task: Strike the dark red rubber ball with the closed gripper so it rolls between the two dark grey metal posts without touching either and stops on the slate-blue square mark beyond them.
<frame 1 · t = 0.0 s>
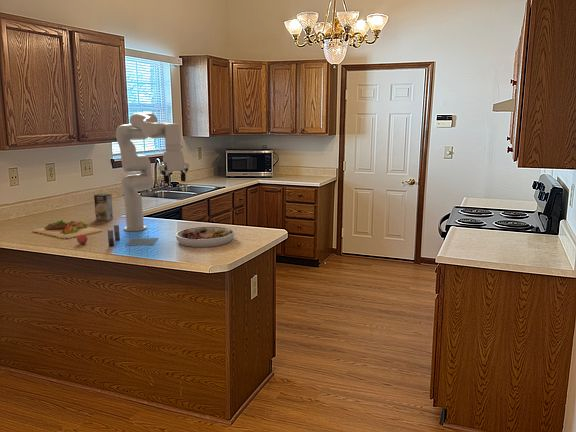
hand: (175, 182, 251), 31 cm above the worktop, tool pointing down, fingers open, 9 cm apart
post 2: (117, 240, 263), on the worktop
bowl: (205, 242, 259), on the worktop
coffee box: (104, 219, 318), on the worktop
ball: (82, 239, 255), on the worktop
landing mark: (142, 242, 258), on the worktop
post 1: (111, 245, 251), on the worktop
wooden food tray: (67, 233, 284), on the worktop
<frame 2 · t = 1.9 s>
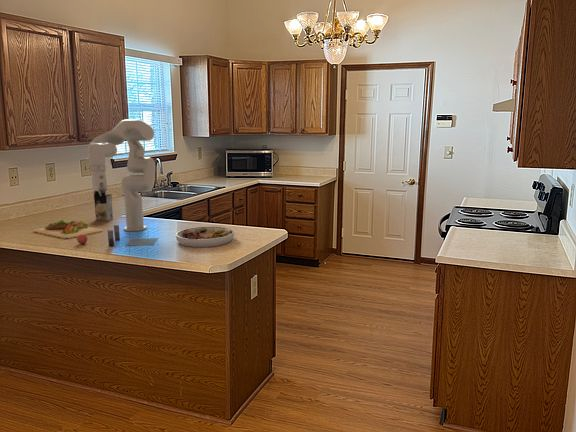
hand: (100, 202, 251), 22 cm above the worktop, tool pointing down, fingers open, 9 cm apart
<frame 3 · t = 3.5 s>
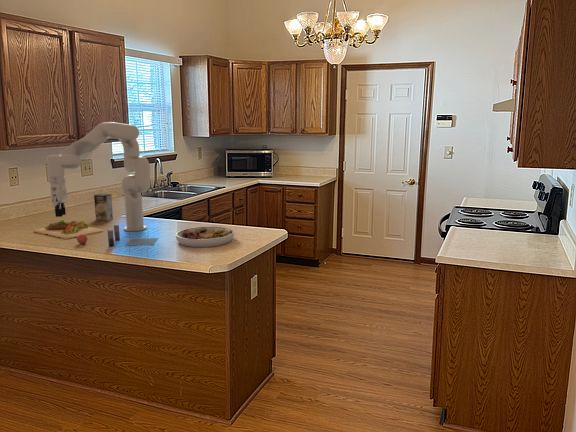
hand: (60, 215, 252), 15 cm above the worktop, tool pointing down, fingers open, 3 cm apart
nothing on the worktop moved.
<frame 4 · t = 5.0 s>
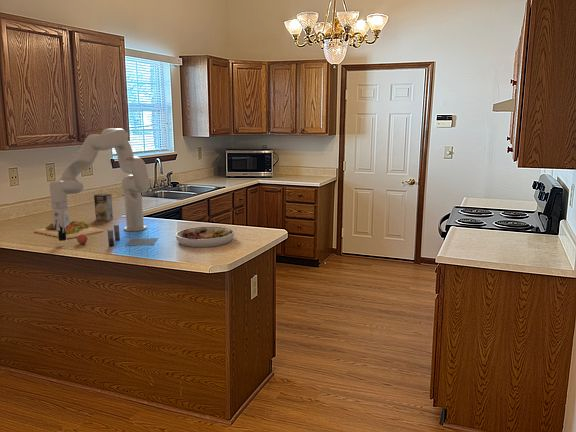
hand: (62, 240, 254), 2 cm above the worktop, tool pointing down, fingers closed
nothing on the worktop moved.
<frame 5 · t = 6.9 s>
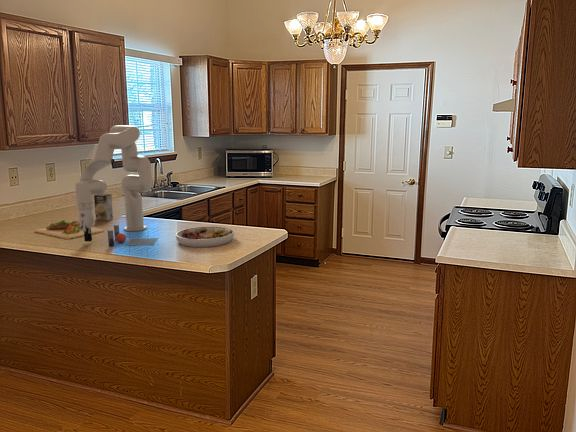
hand: (88, 240, 255), 2 cm above the worktop, tool pointing down, fingers closed
ball: (120, 238, 257), on the worktop
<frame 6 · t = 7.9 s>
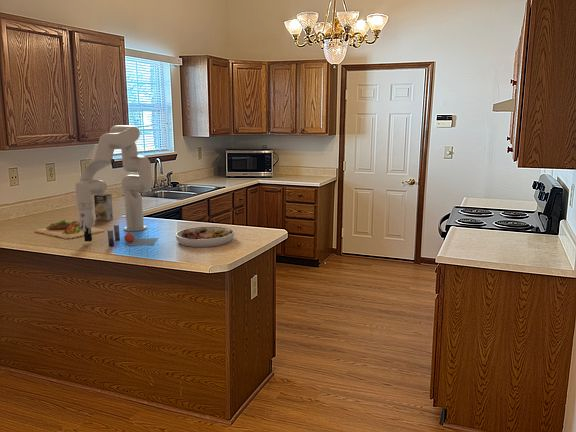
hand: (88, 240, 255), 2 cm above the worktop, tool pointing down, fingers closed
ball: (129, 237, 257), on the worktop
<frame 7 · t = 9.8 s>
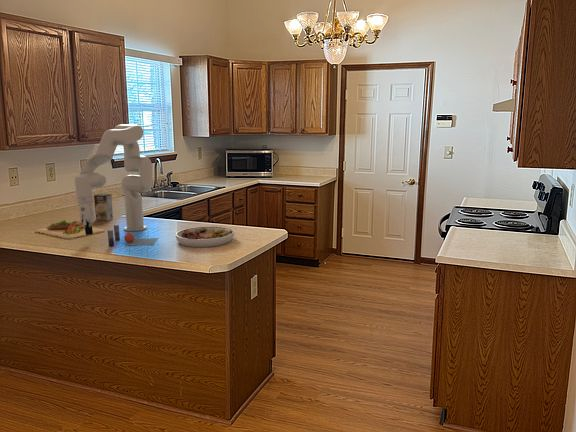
hand: (89, 234, 256), 5 cm above the worktop, tool pointing down, fingers closed
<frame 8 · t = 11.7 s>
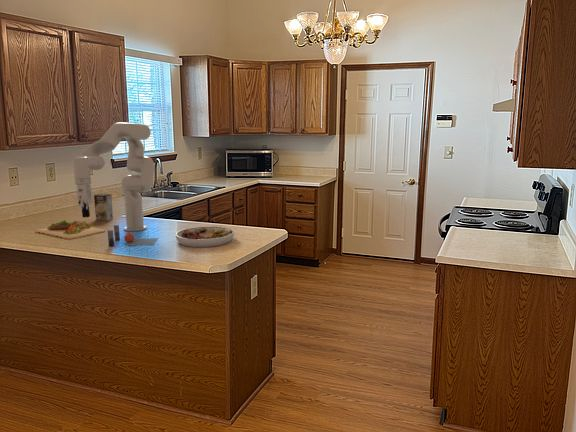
hand: (86, 216, 253), 14 cm above the worktop, tool pointing down, fingers closed
at the end: ball 6.2 cm from the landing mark (horizontally); ball never touched post 2; ball never touched post 1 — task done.
